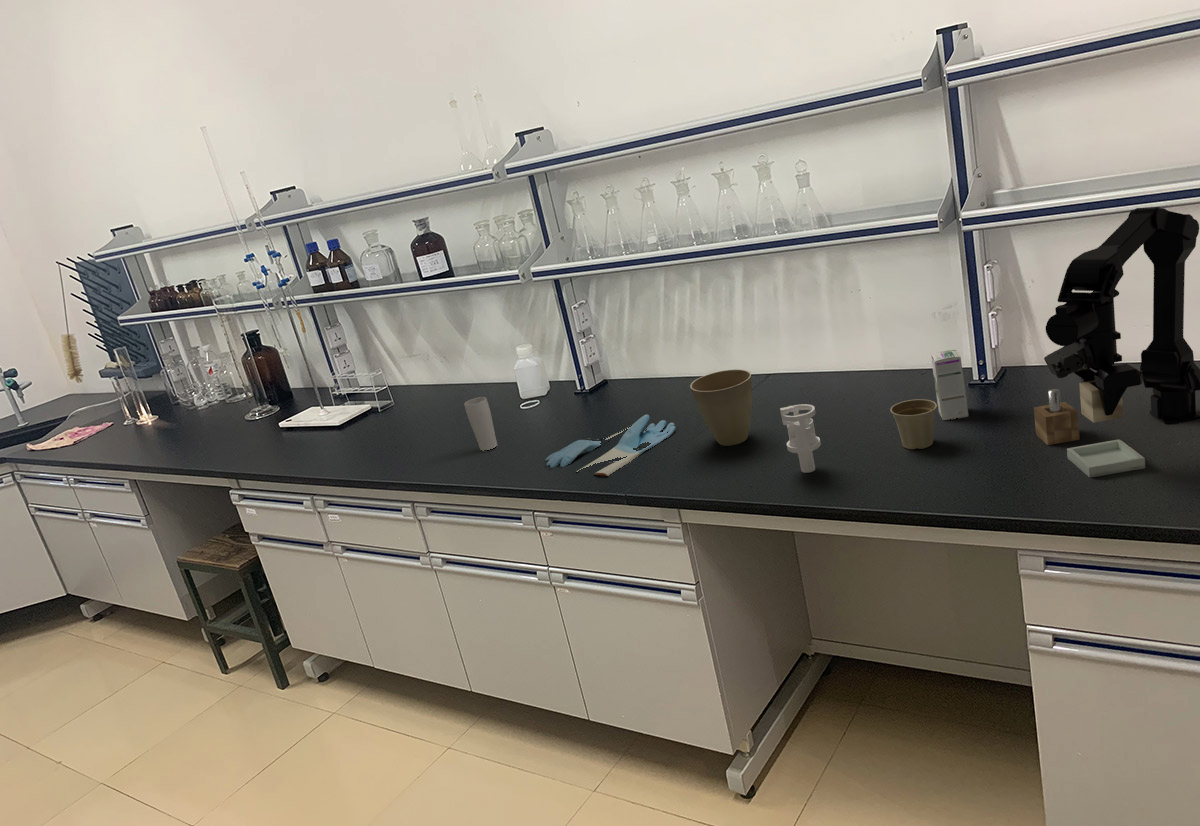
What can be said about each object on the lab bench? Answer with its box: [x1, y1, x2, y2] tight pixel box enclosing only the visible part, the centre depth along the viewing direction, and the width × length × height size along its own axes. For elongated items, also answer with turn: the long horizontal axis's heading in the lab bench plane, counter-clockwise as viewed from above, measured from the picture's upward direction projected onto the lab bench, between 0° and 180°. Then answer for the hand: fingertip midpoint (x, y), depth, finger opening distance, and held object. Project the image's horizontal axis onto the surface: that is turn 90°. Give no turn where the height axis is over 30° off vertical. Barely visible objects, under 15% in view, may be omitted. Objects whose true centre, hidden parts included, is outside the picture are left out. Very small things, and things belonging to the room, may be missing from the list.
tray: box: [1066, 439, 1146, 478], centre depth 159 cm, size 9×9×2 cm
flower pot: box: [889, 398, 938, 450], centre depth 185 cm, size 9×9×9 cm
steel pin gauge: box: [1047, 388, 1061, 413], centre depth 172 cm, size 2×2×10 cm
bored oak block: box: [1033, 401, 1080, 446], centre depth 173 cm, size 6×6×6 cm
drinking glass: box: [463, 396, 498, 452], centre depth 251 cm, size 7×7×15 cm
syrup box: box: [930, 349, 969, 421], centre depth 195 cm, size 6×6×14 cm
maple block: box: [1078, 380, 1124, 424], centre depth 156 cm, size 5×5×6 cm
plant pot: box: [689, 368, 753, 447], centre depth 212 cm, size 15×15×16 cm
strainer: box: [779, 403, 822, 474], centre depth 185 cm, size 7×7×15 cm
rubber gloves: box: [544, 414, 677, 477], centre depth 230 cm, size 27×33×6 cm
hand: (1101, 410), depth 156 cm, fingers closed on maple block, 5 cm apart
